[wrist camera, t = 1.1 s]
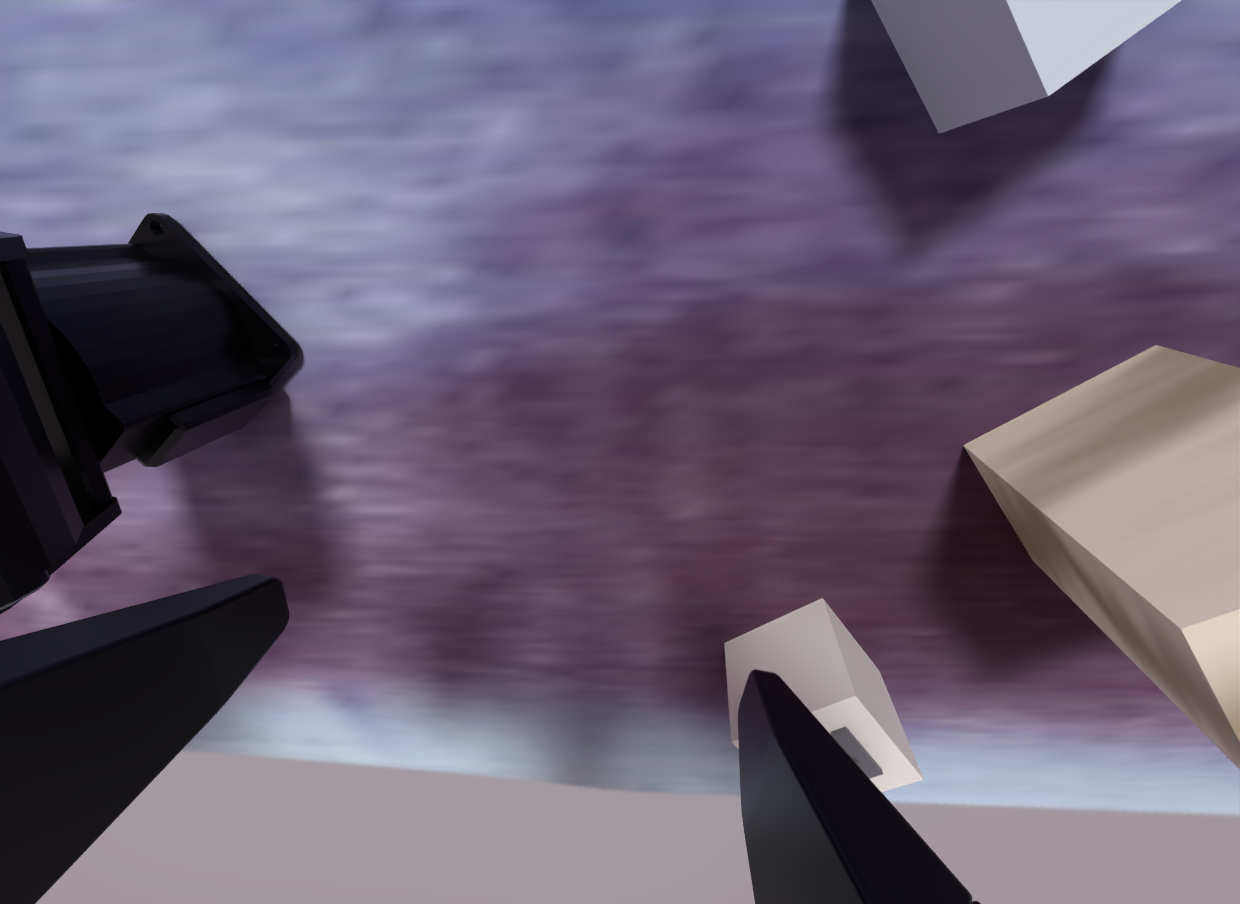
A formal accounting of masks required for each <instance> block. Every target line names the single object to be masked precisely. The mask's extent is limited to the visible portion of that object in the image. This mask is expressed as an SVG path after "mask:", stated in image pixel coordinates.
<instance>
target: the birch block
mask: <svg viewBox="0 0 1240 904" xmlns="http://www.w3.org/2000/svg"><path fill="white" fill-rule="evenodd" d="M963 446H964V447H965V449H966V451H967V452H968V454H969V456H970V457H971V459H972V461H973V462H974V464H975V466H976V467H977V469H978V471H979V472H980V474H981V476H982V477H983V479H984V481H985V482H986V484H987V486H988V487H989V489H990V491H991V492H992V494H993V496H994V497H995V499H996V501H997V502H998V504H999V506H1000V507H1001V509H1002V511H1003V512H1004V514H1005V516H1006V517H1007V519H1008V521H1009V522H1010V524H1011V526H1012V527H1013V529H1014V531H1015V532H1016V534H1017V535H1018V537H1019V539H1020V540H1021V542H1022V544H1023V545H1024V547H1025V549H1026V550H1027V552H1028V554H1029V555H1030V557H1031V559H1032V560H1033V561H1034V562H1035V563H1036V564H1037V565H1038V566H1039V567H1040V568H1041V569H1042V570H1043V571H1044V572H1045V573H1046V574H1047V575H1048V576H1049V577H1050V578H1051V579H1052V580H1053V581H1054V582H1055V583H1056V585H1057V586H1058V587H1059V588H1060V589H1061V590H1062V591H1063V592H1064V593H1065V594H1066V595H1067V596H1068V597H1069V598H1070V599H1071V600H1072V601H1073V602H1074V603H1075V604H1076V605H1077V606H1078V607H1079V608H1080V609H1081V610H1082V611H1083V612H1084V613H1085V614H1086V615H1087V616H1088V617H1089V618H1090V619H1091V620H1092V621H1093V622H1094V623H1095V624H1096V625H1097V626H1098V627H1099V628H1100V629H1101V630H1102V631H1103V632H1104V633H1105V634H1106V635H1107V636H1108V637H1109V638H1110V639H1111V640H1112V641H1113V642H1114V643H1115V644H1116V645H1117V646H1118V647H1119V648H1120V649H1121V650H1122V651H1123V652H1124V653H1125V654H1126V655H1127V656H1128V657H1129V658H1130V659H1131V660H1132V661H1133V662H1134V663H1135V664H1136V665H1137V666H1138V667H1139V668H1140V669H1141V670H1142V671H1143V672H1144V673H1145V674H1146V675H1147V676H1148V677H1149V679H1150V680H1151V681H1152V682H1153V683H1154V684H1155V685H1156V686H1157V687H1158V688H1159V689H1160V690H1161V691H1162V692H1163V693H1164V694H1165V695H1166V696H1167V697H1168V698H1169V699H1170V700H1171V701H1172V702H1173V703H1174V704H1175V705H1176V706H1177V707H1178V708H1179V709H1180V710H1181V711H1182V712H1183V713H1184V714H1185V715H1186V716H1187V717H1188V718H1189V719H1190V720H1191V721H1192V722H1193V723H1194V724H1195V725H1196V726H1197V727H1198V728H1199V729H1200V730H1201V731H1202V732H1203V733H1204V734H1205V735H1206V736H1207V737H1208V738H1209V739H1210V740H1211V741H1212V742H1213V743H1214V744H1215V745H1216V746H1217V747H1218V748H1219V749H1220V750H1221V751H1222V752H1223V753H1224V754H1225V755H1226V756H1227V757H1228V758H1229V759H1230V760H1231V761H1232V762H1233V763H1234V764H1235V765H1236V766H1237V767H1238V768H1239V769H1240V368H1238V367H1234V366H1231V365H1227V364H1223V363H1220V362H1216V361H1212V360H1209V359H1205V358H1201V357H1198V356H1194V355H1190V354H1187V353H1183V352H1180V351H1176V350H1172V349H1169V348H1165V347H1161V346H1158V345H1155V346H1153V347H1151V348H1149V349H1147V350H1146V351H1144V352H1142V353H1140V354H1138V355H1136V356H1134V357H1132V358H1130V359H1128V360H1126V361H1124V362H1123V363H1121V364H1119V365H1117V366H1115V367H1113V368H1111V369H1109V370H1107V371H1105V372H1103V373H1101V374H1099V375H1098V376H1096V377H1094V378H1092V379H1090V380H1088V381H1086V382H1084V383H1082V384H1080V385H1078V386H1076V387H1074V388H1073V389H1071V390H1069V391H1067V392H1065V393H1063V394H1061V395H1059V396H1057V397H1055V398H1053V399H1051V400H1049V401H1048V402H1046V403H1044V404H1042V405H1040V406H1038V407H1036V408H1034V409H1032V410H1030V411H1028V412H1026V413H1024V414H1023V415H1021V416H1019V417H1017V418H1015V419H1013V420H1011V421H1009V422H1007V423H1005V424H1003V425H1001V426H999V427H998V428H996V429H994V430H992V431H990V432H988V433H986V434H984V435H982V436H980V437H978V438H976V439H975V440H973V441H971V442H969V443H967V444H965V445H963Z"/></svg>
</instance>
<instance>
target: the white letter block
mask: <svg viewBox="0 0 1240 904" xmlns="http://www.w3.org/2000/svg"><path fill="white" fill-rule="evenodd" d="M724 646H725V661H726V675H727V689H728V704H729V718H730V732H731V742H732V743H733V744H734V745H735V746H736V748H737V749H738V750H739V740H738V709H739V704H740V700H741V697H742V694H743V691H744V688H745V685H746V682H747V679H748V676H749V674H750V672H751V671H752V670H754V669H757V670H762V671H768V672H773V673H776V674H777V675H778V676H780V677H781V679H782V680H783V681H784V682H785V683H786V684H787V685H788V686H789V688H790V689H791V690H792V691H793V692H794V693H795V694H796V696H797V697H798V698H799V699H800V700H801V701H802V702H803V704H804V705H805V706H806V707H807V708H808V709H809V710H810V712H811V713H812V714H813V715H814V716H815V717H816V718H817V720H818V721H819V722H820V723H821V724H822V725H823V726H824V727H825V729H826V730H827V731H828V732H829V733H830V734H831V735H832V737H833V738H834V739H835V740H836V741H837V742H838V743H839V745H840V746H841V747H842V748H843V749H844V750H845V751H846V753H847V754H848V755H849V756H850V757H851V758H852V759H853V760H854V762H855V763H856V764H857V765H858V766H859V767H860V768H861V770H862V771H863V772H864V773H865V774H866V775H867V776H868V778H869V779H870V780H871V781H872V782H873V783H874V784H875V786H876V787H877V788H878V789H879V790H880V791H881V792H884V791H887V790H890V789H894V788H897V787H901V786H904V785H907V784H911V783H914V782H918V781H921V780H924V779H923V777H922V774H921V772H920V769H919V767H918V764H917V762H916V760H915V757H914V755H913V752H912V750H911V747H910V745H909V742H908V740H907V738H906V735H905V733H904V730H903V728H902V725H901V723H900V720H899V718H898V715H897V713H896V711H895V708H894V706H893V703H892V701H891V698H890V696H889V693H888V691H887V689H886V686H885V684H884V681H883V679H882V676H881V674H880V671H879V670H878V669H877V667H876V666H875V665H874V664H873V662H872V661H871V660H870V658H869V657H868V656H867V655H866V653H865V652H864V651H863V649H862V648H861V647H860V646H859V644H858V643H857V642H856V640H855V639H854V638H853V637H852V635H851V634H850V633H849V631H848V630H847V629H846V628H845V626H844V625H843V624H842V622H841V621H840V620H839V619H838V617H837V616H836V615H835V613H834V612H833V611H832V610H831V608H830V607H829V606H828V604H827V603H826V602H825V601H824V599H823V598H821V599H819V600H817V601H815V602H813V603H811V604H808V605H806V606H804V607H802V608H800V609H797V610H795V611H793V612H791V613H789V614H787V615H784V616H782V617H780V618H778V619H776V620H773V621H771V622H769V623H767V624H765V625H763V626H760V627H758V628H756V629H754V630H752V631H749V632H747V633H745V634H743V635H741V636H739V637H736V638H734V639H732V640H730V641H728V642H725V643H724Z"/></svg>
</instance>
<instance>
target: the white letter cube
mask: <svg viewBox="0 0 1240 904" xmlns="http://www.w3.org/2000/svg"><path fill="white" fill-rule="evenodd" d="M871 1H872V3H873V5H874V7H875V9H876V11H877V13H878V15H879V17H880V19H881V21H882V23H883V25H884V27H885V29H886V31H887V33H888V35H889V37H890V39H891V41H892V43H893V45H894V47H895V48H896V50H897V52H898V54H899V56H900V58H901V60H902V62H903V64H904V66H905V68H906V70H907V72H908V74H909V76H910V78H911V80H912V82H913V84H914V86H915V88H916V90H917V92H918V94H919V96H920V98H921V100H922V101H923V103H924V105H925V107H926V109H927V111H928V113H929V115H930V117H931V119H932V121H933V123H934V125H935V127H936V129H937V131H938V133H939V134H940V133H943V132H946V131H949V130H951V129H954V128H957V127H960V126H963V125H966V124H969V123H972V122H975V121H978V120H981V119H984V118H987V117H989V116H992V115H995V114H998V113H1001V112H1004V111H1007V110H1010V109H1013V108H1016V107H1019V106H1022V105H1025V104H1028V103H1030V102H1033V101H1036V100H1039V99H1042V98H1045V97H1048V96H1050V95H1051V94H1052V93H1054V92H1055V91H1056V90H1058V89H1059V88H1061V87H1062V86H1063V85H1065V84H1066V83H1068V82H1069V81H1070V80H1072V79H1073V78H1074V77H1076V76H1077V75H1079V74H1080V73H1081V72H1083V71H1084V70H1086V69H1087V68H1088V67H1090V66H1091V65H1092V64H1094V63H1095V62H1097V61H1098V60H1099V59H1101V58H1102V57H1104V56H1105V55H1106V54H1108V53H1109V52H1110V51H1112V50H1113V49H1115V48H1116V47H1117V46H1119V45H1120V44H1122V43H1123V42H1124V41H1126V40H1127V39H1128V38H1130V37H1131V36H1133V35H1134V34H1135V33H1137V32H1138V31H1140V30H1141V29H1142V28H1144V27H1145V26H1146V25H1148V24H1149V23H1151V22H1152V21H1153V20H1155V19H1156V18H1158V17H1159V16H1160V15H1162V14H1163V13H1164V12H1166V11H1167V10H1169V9H1170V8H1171V7H1173V6H1174V5H1176V4H1177V3H1178V2H1180V1H1181V0H871Z"/></svg>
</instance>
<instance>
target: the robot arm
mask: <svg viewBox="0 0 1240 904" xmlns="http://www.w3.org/2000/svg"><path fill="white" fill-rule="evenodd" d="M160 225H161V226H162V227H163V231H164V232H163V231H162V230H161V226H160ZM280 345H281V346H282V347H283V348H284V350H285V353H284V352H282V350H281V349H280ZM297 355H298V348H297V345H296V344H295V342H294V341H293V340H292V339H291V338H290V337H289V336H288V335H287V334H286V333H285V332H284V331H283V330H282V329H281V328H280V327H279V326H278V325H277V324H276V323H275V321H274V320H273V319H272V318H271V317H270V316H269V315H268V314H267V313H266V312H265V311H264V310H263V309H262V308H261V307H260V306H259V305H258V304H257V303H256V302H255V301H254V300H253V299H252V298H251V297H250V296H249V295H248V294H247V293H246V292H245V291H244V290H243V289H242V288H241V287H240V286H239V285H238V284H237V283H236V282H235V281H234V280H233V279H232V278H231V277H230V276H229V275H228V274H227V273H226V272H225V271H224V270H223V269H222V268H221V267H220V266H219V265H218V264H217V263H216V262H215V261H214V260H213V259H212V258H211V257H210V256H209V255H208V254H207V253H206V252H205V250H204V249H203V248H202V247H201V246H200V245H199V244H198V243H197V242H196V241H195V240H194V239H193V238H192V237H191V236H190V235H189V234H188V233H187V232H186V231H185V230H184V229H183V228H182V227H181V226H180V225H179V224H178V223H177V222H176V221H175V220H174V219H173V218H171V217H170V216H169V215H166V214H164V213H151V214H147V215H146V216H145V217H144V219H143V220H142V222H141V223H140V225H139V227H138V228H137V230H136V231H135V233H134V235H133V236H132V238H131V239H130V241H129V243H128V244H111V245H89V246H67V247H45V248H26V246H25V243H24V241H23V238H22V235H18V234H12V233H5V232H0V614H1V613H3V612H5V611H6V610H8V609H10V608H11V607H12V606H14V605H15V604H17V603H18V602H19V601H21V600H22V599H23V598H25V597H27V596H28V595H30V594H32V593H34V592H35V591H37V590H39V589H40V588H41V587H42V586H43V585H44V584H45V583H46V582H47V581H48V580H49V578H50V575H51V574H52V573H54V572H55V571H56V570H57V569H58V568H59V567H60V566H62V565H63V564H64V563H65V562H66V561H67V560H69V559H70V558H71V557H72V556H73V555H74V554H75V553H77V552H78V551H79V550H80V549H81V548H82V547H84V546H85V545H86V544H87V543H88V542H89V541H90V540H92V539H93V538H94V537H95V536H96V535H97V534H98V533H100V532H101V531H102V530H103V529H104V528H105V527H107V526H108V525H109V524H110V523H111V522H112V521H113V520H115V519H116V518H117V517H118V516H119V515H120V514H121V513H122V511H121V509H120V506H119V503H118V500H117V498H116V497H113V496H112V494H111V492H110V489H109V486H108V484H107V481H106V478H105V475H104V472H107V471H109V470H111V469H114V468H116V467H118V466H121V465H123V464H125V463H128V462H130V461H132V460H135V459H137V460H138V461H139V462H140V463H141V464H143V465H144V466H146V467H158V466H160V465H162V464H164V463H166V462H169V461H171V460H173V459H175V458H177V457H179V456H182V455H184V454H186V453H188V452H190V451H192V450H194V449H197V448H199V447H201V446H203V445H205V444H207V443H210V442H212V441H214V440H216V439H218V438H220V437H223V436H225V435H227V434H229V433H231V432H233V431H235V430H238V429H240V428H242V427H243V426H245V425H246V423H247V422H248V421H249V420H250V419H251V418H252V417H253V416H254V415H255V414H256V413H257V412H258V411H259V409H260V408H261V407H262V406H263V405H264V404H265V403H266V402H267V401H268V400H269V399H270V398H271V397H272V395H273V387H272V386H271V385H272V384H273V383H274V382H275V381H276V380H277V378H278V377H279V376H280V375H281V374H282V373H283V372H284V371H285V370H286V369H287V368H288V366H289V365H290V364H291V363H292V362H293V361H294V360H295V359H296V357H297ZM288 620H289V609H288V605H287V600H286V596H285V591H284V586H283V583H282V581H281V580H280V579H279V578H276V577H272V576H267V575H262V574H253V575H248V576H245V577H241V578H237V579H233V580H229V581H226V582H222V583H218V584H214V585H211V586H207V587H203V588H199V589H195V590H192V591H188V592H184V593H180V594H176V595H173V596H169V597H165V598H161V599H157V600H154V601H150V602H146V603H142V604H139V605H135V606H131V607H127V608H123V609H120V610H116V611H112V612H108V613H104V614H101V615H97V616H93V617H89V618H86V619H82V620H78V621H74V622H70V623H67V624H63V625H59V626H55V627H51V628H48V629H44V630H40V631H36V632H33V633H29V634H25V635H21V636H17V637H14V638H10V639H6V640H2V641H0V904H36V902H37V901H38V900H39V899H40V898H41V897H42V896H43V895H44V894H45V893H46V892H47V891H48V890H49V889H50V888H51V887H52V886H53V885H54V884H55V883H56V881H57V880H58V879H59V878H60V877H61V876H62V875H63V874H64V873H65V872H66V871H67V870H68V869H69V868H70V867H71V866H72V865H73V863H75V861H76V860H77V859H78V858H79V857H80V856H81V855H82V854H83V853H84V852H85V851H86V850H87V849H88V848H89V847H90V846H91V845H92V844H93V843H94V841H95V840H96V839H97V838H98V837H99V836H100V835H101V834H102V833H103V832H104V831H105V830H106V829H107V828H108V827H109V826H110V825H111V824H112V823H113V821H115V819H116V818H117V817H118V816H119V815H120V814H121V813H122V812H123V811H124V810H125V809H126V808H127V807H128V806H129V805H130V804H131V803H132V801H133V800H134V799H135V798H136V797H137V796H138V795H139V794H140V793H141V792H142V791H143V790H144V789H145V788H146V787H147V786H148V785H149V784H150V783H151V782H152V780H153V779H154V778H155V777H156V776H157V775H158V774H159V773H160V772H161V771H162V770H163V769H164V768H165V767H166V766H167V765H168V764H169V763H170V761H171V760H173V759H174V757H175V756H176V755H177V754H178V753H179V752H180V751H181V750H182V749H183V748H184V747H185V746H186V745H187V744H188V743H189V742H190V741H191V740H192V739H193V737H194V736H195V735H196V734H197V733H198V732H199V731H200V730H201V729H202V728H203V727H204V726H205V725H206V724H207V723H208V722H209V721H210V720H211V719H212V718H213V716H214V715H215V714H216V713H217V712H218V711H219V710H220V709H221V708H222V707H223V705H224V704H225V703H226V702H227V701H228V700H229V698H230V697H231V696H232V695H233V694H234V692H235V691H236V690H237V689H238V687H239V686H240V685H241V684H242V682H243V681H244V680H245V679H246V677H247V676H248V675H249V674H250V672H251V671H252V670H253V669H254V667H255V666H256V665H257V664H258V662H259V661H260V660H261V659H262V657H263V656H264V655H265V654H266V652H267V651H268V650H269V649H270V647H271V646H272V645H273V644H274V642H275V641H276V640H277V639H278V637H279V636H280V635H281V634H282V632H283V631H284V629H285V627H286V625H287V623H288ZM738 740H739V764H740V788H741V805H742V806H741V807H742V817H743V826H744V833H745V839H746V846H747V853H748V859H749V866H750V872H751V879H752V885H753V892H754V898H755V904H980V903H979V902H978V901H973V902H972V896H971V894H970V893H969V891H968V890H967V889H966V888H965V887H964V886H963V885H962V884H961V882H960V881H959V880H958V879H957V878H956V877H955V876H954V874H953V873H952V872H951V871H950V870H949V869H948V868H947V867H946V865H945V864H944V863H943V862H942V861H941V860H940V859H939V857H938V856H937V855H936V854H935V853H934V852H933V850H932V849H931V848H930V847H929V846H928V845H927V844H926V842H925V841H924V840H923V839H922V838H921V837H920V836H919V834H917V832H916V831H915V830H914V829H913V828H912V827H911V826H910V824H909V823H908V822H907V821H906V820H905V819H904V817H903V816H902V815H901V814H900V813H899V812H898V811H897V809H896V808H895V807H894V806H893V805H892V804H891V803H890V801H889V800H888V799H887V798H886V797H885V796H884V795H883V794H882V792H881V791H880V790H879V789H878V788H877V787H876V786H875V784H874V783H873V782H872V781H871V780H870V779H869V778H868V776H867V775H866V774H865V773H864V772H863V771H862V770H861V768H860V767H859V766H858V765H857V764H856V763H855V762H854V760H853V759H852V758H851V757H850V756H849V755H848V754H847V753H846V751H845V750H844V749H843V748H842V747H841V746H840V745H839V743H838V742H837V741H836V740H835V739H834V738H833V737H832V735H831V734H830V733H829V732H828V731H827V730H826V729H825V727H824V726H823V725H822V724H821V723H820V722H819V721H818V720H817V718H816V717H815V716H814V715H813V714H812V713H811V712H810V710H809V709H808V708H807V707H806V706H805V705H804V704H803V702H802V701H801V700H800V699H799V698H798V697H797V696H796V694H795V693H794V692H793V691H792V690H791V689H790V688H789V686H788V685H787V684H786V683H785V682H784V681H783V680H782V679H781V677H780V676H778V675H777V674H776V673H773V672H768V671H762V670H757V669H754V670H752V671H751V672H750V674H749V676H748V679H747V682H746V685H745V688H744V691H743V694H742V697H741V700H740V704H739V709H738Z"/></svg>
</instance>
